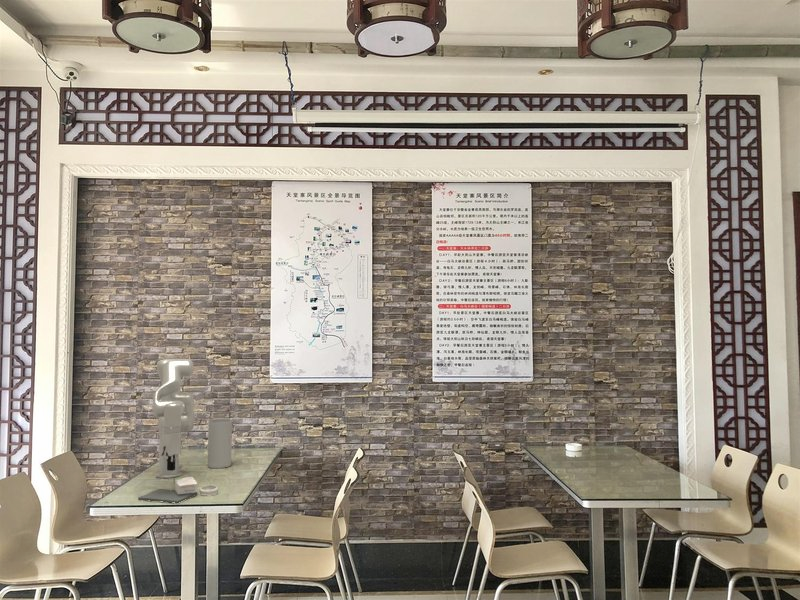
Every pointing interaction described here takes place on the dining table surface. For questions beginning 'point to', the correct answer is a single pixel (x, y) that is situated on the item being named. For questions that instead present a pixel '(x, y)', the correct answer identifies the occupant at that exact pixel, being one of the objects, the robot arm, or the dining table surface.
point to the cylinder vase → (219, 443)
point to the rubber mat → (166, 496)
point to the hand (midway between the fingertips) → (171, 469)
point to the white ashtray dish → (208, 490)
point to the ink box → (185, 485)
